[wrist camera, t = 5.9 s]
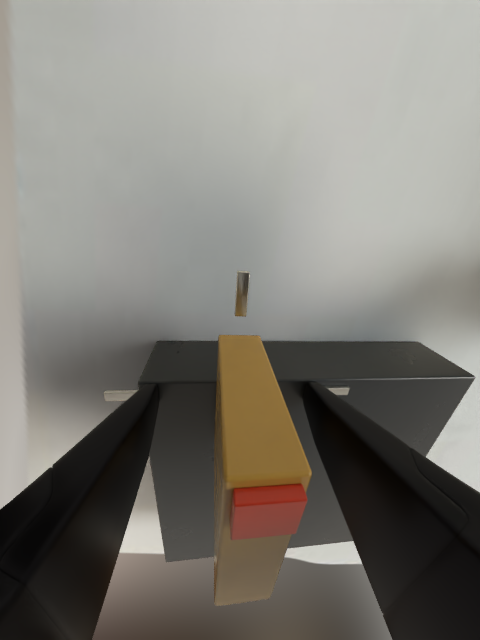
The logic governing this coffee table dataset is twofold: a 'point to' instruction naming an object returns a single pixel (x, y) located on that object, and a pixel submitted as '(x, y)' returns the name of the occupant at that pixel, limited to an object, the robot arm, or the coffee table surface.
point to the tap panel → (292, 376)
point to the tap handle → (253, 473)
